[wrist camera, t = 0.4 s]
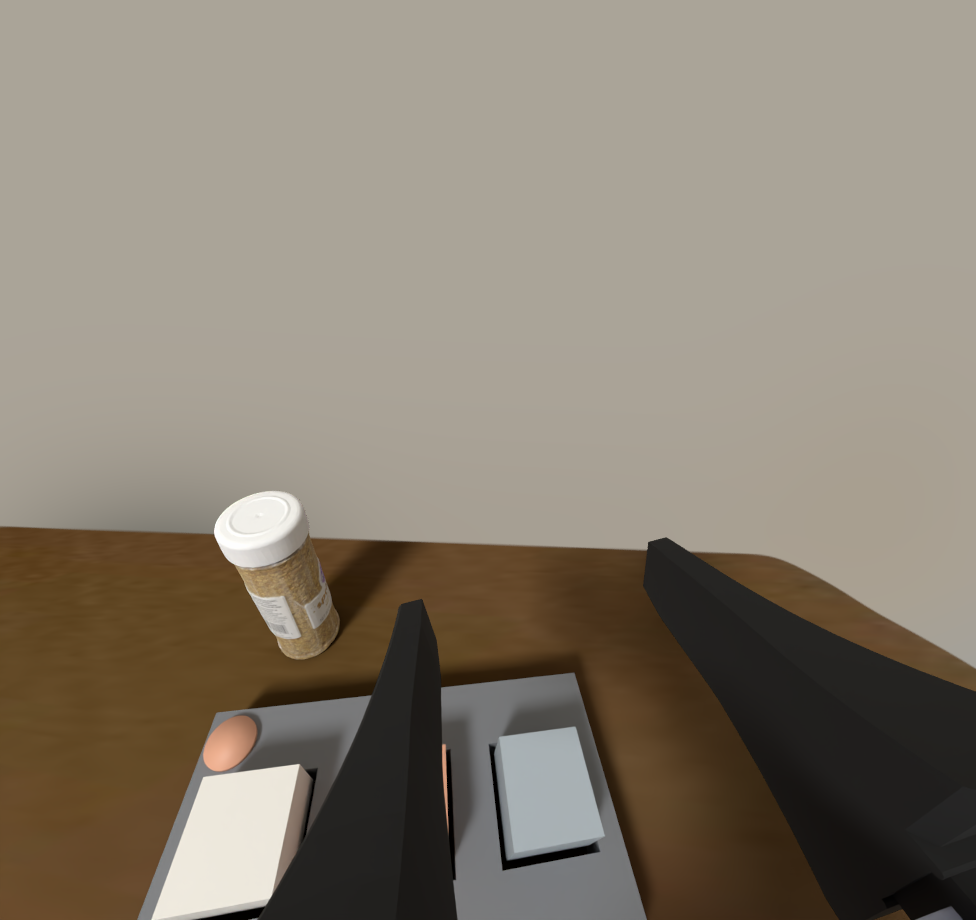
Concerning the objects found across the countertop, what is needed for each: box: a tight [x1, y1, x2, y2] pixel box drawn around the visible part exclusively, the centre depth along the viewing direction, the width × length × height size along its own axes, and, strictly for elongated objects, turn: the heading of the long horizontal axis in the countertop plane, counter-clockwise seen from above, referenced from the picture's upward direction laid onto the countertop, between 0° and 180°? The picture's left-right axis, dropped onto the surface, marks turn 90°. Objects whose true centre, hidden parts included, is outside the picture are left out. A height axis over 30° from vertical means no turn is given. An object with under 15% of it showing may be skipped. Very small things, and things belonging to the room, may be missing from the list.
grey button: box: [494, 727, 605, 861], centre depth 20 cm, size 4×4×3 cm
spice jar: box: [214, 491, 340, 659], centre depth 25 cm, size 5×5×13 cm
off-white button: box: [151, 764, 314, 920], centre depth 18 cm, size 4×4×3 cm
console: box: [138, 673, 647, 920], centre depth 20 cm, size 12×23×3 cm, turn 97°
